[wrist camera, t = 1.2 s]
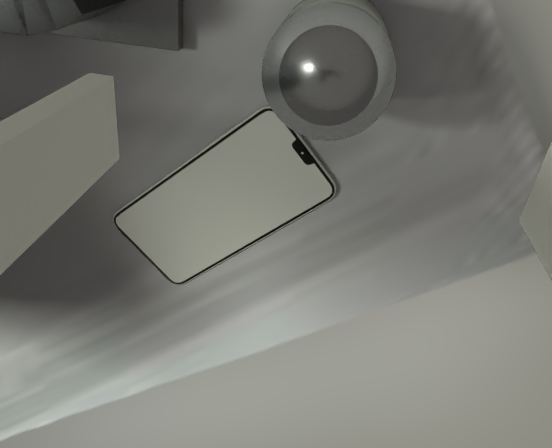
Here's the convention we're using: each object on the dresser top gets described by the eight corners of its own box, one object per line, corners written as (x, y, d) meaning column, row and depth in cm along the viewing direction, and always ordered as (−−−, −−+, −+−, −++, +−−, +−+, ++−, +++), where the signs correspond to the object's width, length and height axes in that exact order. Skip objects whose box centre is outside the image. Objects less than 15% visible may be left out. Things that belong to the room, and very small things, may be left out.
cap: (273, 95, 29) (256, 132, 24) (284, -18, 26) (267, -4, 21) (375, 109, 29) (380, 150, 23) (399, -4, 25) (411, 15, 20)
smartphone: (106, 218, 35) (272, 99, 29) (110, 214, 35) (273, 96, 29) (176, 289, 37) (342, 194, 31) (179, 284, 38) (342, 189, 32)
